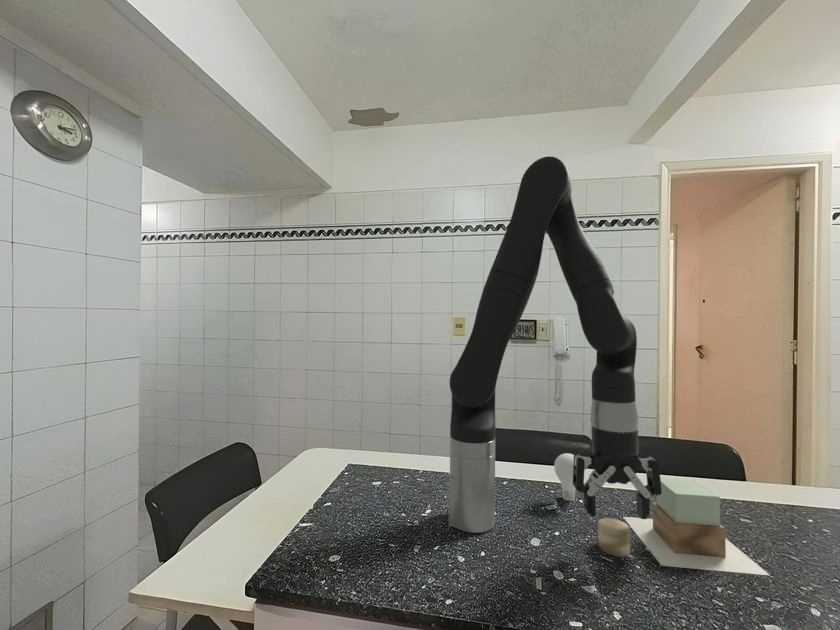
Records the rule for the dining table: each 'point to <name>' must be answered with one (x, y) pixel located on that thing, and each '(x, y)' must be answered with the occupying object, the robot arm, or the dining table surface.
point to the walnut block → (689, 535)
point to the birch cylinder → (614, 537)
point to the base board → (667, 557)
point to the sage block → (689, 502)
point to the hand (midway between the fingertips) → (616, 515)
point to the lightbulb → (565, 475)
